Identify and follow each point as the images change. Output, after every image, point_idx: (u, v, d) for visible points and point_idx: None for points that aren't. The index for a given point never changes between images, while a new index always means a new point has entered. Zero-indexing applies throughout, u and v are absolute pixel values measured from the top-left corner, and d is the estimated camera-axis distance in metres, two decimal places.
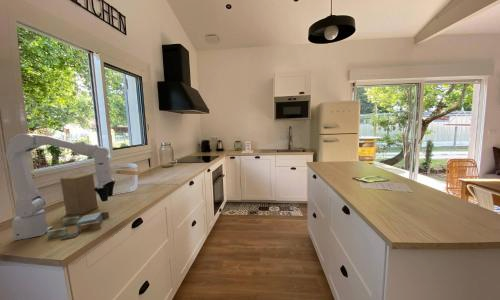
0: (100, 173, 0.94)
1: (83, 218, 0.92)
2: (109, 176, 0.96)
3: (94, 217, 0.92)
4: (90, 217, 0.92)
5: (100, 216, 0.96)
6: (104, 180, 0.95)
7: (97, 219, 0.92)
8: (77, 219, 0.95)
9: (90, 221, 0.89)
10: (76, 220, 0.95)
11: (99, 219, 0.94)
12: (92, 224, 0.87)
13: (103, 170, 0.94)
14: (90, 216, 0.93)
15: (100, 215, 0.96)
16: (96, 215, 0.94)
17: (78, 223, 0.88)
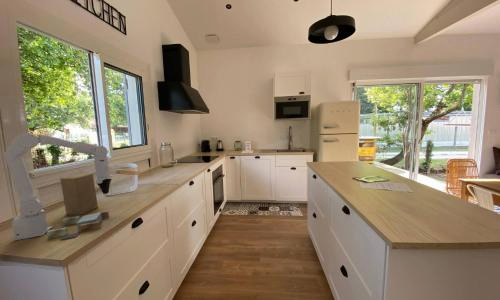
0: (99, 170, 1.02)
1: (83, 218, 0.91)
2: (107, 172, 1.04)
3: (94, 217, 0.92)
4: (90, 217, 0.92)
5: (100, 216, 0.96)
6: (103, 176, 1.02)
7: (97, 219, 0.92)
8: (77, 219, 0.95)
9: (90, 221, 0.89)
10: (76, 220, 0.95)
11: (99, 219, 0.94)
12: (92, 224, 0.87)
13: (104, 166, 1.03)
14: (90, 216, 0.93)
15: (100, 215, 0.96)
16: (96, 215, 0.94)
17: (78, 223, 0.88)
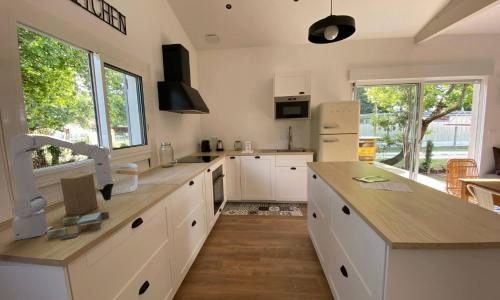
0: (100, 174, 0.90)
1: (83, 218, 0.91)
2: (109, 177, 0.93)
3: (94, 217, 0.92)
4: (90, 217, 0.92)
5: (100, 216, 0.96)
6: (104, 181, 0.91)
7: (97, 219, 0.92)
8: (77, 219, 0.95)
9: (91, 221, 0.89)
10: (76, 220, 0.95)
11: (99, 219, 0.94)
12: (92, 224, 0.87)
13: (102, 171, 0.91)
14: (90, 216, 0.93)
15: (100, 215, 0.96)
16: (96, 215, 0.94)
17: (78, 223, 0.88)
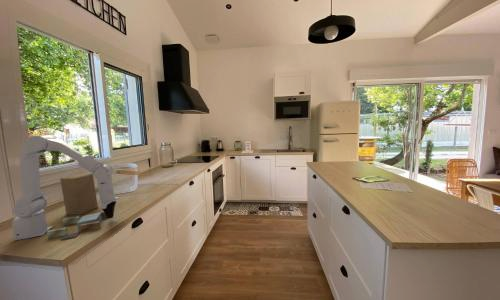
0: (103, 193, 0.91)
1: (83, 218, 0.91)
2: (112, 195, 0.94)
3: (94, 217, 0.92)
4: (90, 217, 0.92)
5: (100, 216, 0.96)
6: (107, 200, 0.92)
7: (98, 219, 0.92)
8: (77, 219, 0.95)
9: (91, 221, 0.90)
10: (76, 220, 0.95)
11: (99, 219, 0.94)
12: (92, 224, 0.87)
13: (105, 190, 0.91)
14: (90, 216, 0.93)
15: (100, 215, 0.96)
16: (96, 215, 0.94)
17: (79, 223, 0.88)
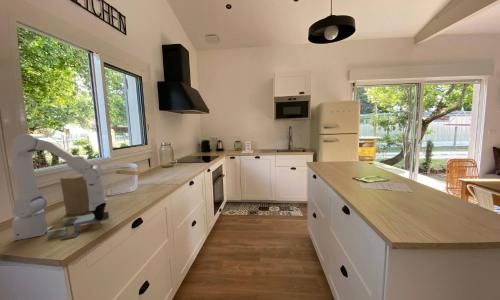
0: (92, 194, 0.90)
1: (79, 219, 0.91)
2: (102, 197, 0.92)
3: (91, 217, 0.92)
4: (87, 217, 0.92)
5: None
6: (96, 201, 0.91)
7: (94, 219, 0.92)
8: None
9: (87, 221, 0.89)
10: None
11: None
12: (92, 224, 0.87)
13: (94, 191, 0.90)
14: (86, 216, 0.93)
15: None
16: (92, 216, 0.93)
17: (75, 224, 0.87)
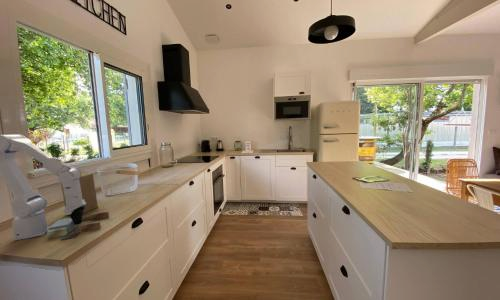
0: (69, 198, 0.87)
1: (56, 223, 0.88)
2: (79, 200, 0.90)
3: (68, 222, 0.88)
4: (64, 222, 0.89)
5: None
6: (73, 205, 0.88)
7: (71, 224, 0.88)
8: None
9: (63, 226, 0.86)
10: None
11: (74, 224, 0.91)
12: (92, 224, 0.87)
13: (70, 195, 0.87)
14: (64, 221, 0.90)
15: None
16: (70, 220, 0.90)
17: (50, 228, 0.84)
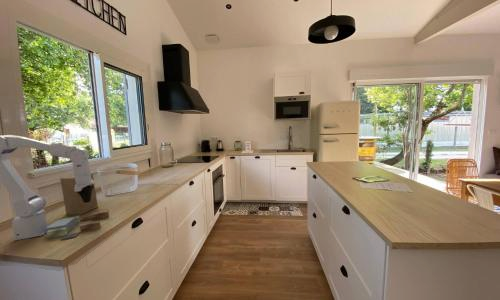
0: (78, 175, 0.89)
1: (54, 223, 0.88)
2: (89, 179, 0.92)
3: (65, 222, 0.88)
4: (61, 222, 0.88)
5: (73, 221, 0.92)
6: (83, 183, 0.90)
7: (68, 225, 0.88)
8: (77, 219, 0.95)
9: (59, 227, 0.85)
10: (76, 220, 0.95)
11: (71, 224, 0.90)
12: (92, 224, 0.87)
13: (81, 172, 0.90)
14: (62, 221, 0.89)
15: (73, 220, 0.92)
16: (67, 221, 0.90)
17: (46, 229, 0.84)
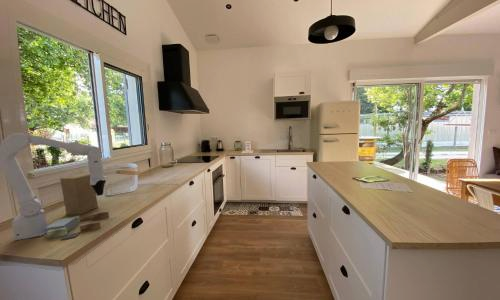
0: (93, 171, 0.99)
1: (54, 223, 0.88)
2: (102, 174, 1.02)
3: (64, 223, 0.88)
4: (61, 222, 0.88)
5: (73, 221, 0.92)
6: (97, 177, 1.00)
7: (67, 225, 0.88)
8: (77, 219, 0.95)
9: (58, 227, 0.85)
10: (76, 220, 0.95)
11: (71, 225, 0.90)
12: (92, 224, 0.87)
13: (98, 168, 1.00)
14: (62, 221, 0.90)
15: (73, 220, 0.92)
16: (67, 221, 0.90)
17: (46, 229, 0.84)
